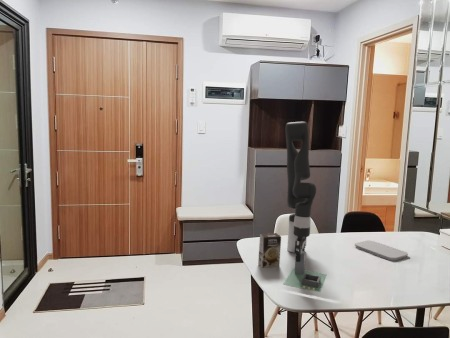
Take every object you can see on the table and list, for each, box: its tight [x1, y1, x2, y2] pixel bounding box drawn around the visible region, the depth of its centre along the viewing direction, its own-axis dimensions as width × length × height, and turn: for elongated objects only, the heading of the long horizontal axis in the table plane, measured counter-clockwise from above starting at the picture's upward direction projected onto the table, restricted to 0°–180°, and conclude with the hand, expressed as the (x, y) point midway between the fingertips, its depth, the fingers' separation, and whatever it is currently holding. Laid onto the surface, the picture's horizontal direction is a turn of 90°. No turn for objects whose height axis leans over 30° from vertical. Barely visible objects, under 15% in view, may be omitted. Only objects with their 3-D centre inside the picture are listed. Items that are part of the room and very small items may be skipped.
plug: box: [294, 250, 307, 275], centre depth 170 cm, size 4×4×10 cm
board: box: [282, 267, 328, 293], centre depth 164 cm, size 20×16×4 cm
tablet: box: [354, 240, 409, 262], centre depth 206 cm, size 16×26×2 cm, turn 32°
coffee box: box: [257, 232, 282, 268], centre depth 179 cm, size 9×6×16 cm
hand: (299, 258), depth 170 cm, fingers open, 8 cm apart
